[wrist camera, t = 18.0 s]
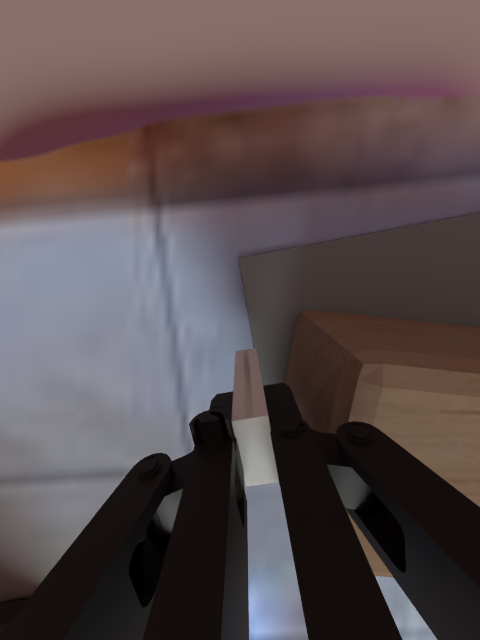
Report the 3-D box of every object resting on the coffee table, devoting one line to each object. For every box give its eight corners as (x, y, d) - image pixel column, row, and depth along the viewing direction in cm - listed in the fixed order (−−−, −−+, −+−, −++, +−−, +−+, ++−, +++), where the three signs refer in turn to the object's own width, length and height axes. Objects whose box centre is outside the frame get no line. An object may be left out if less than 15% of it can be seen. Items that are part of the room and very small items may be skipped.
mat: (268, 428, 20) (268, 430, 20) (238, 258, 17) (238, 258, 17) (571, 383, 19) (576, 384, 19) (597, 190, 16) (604, 189, 16)
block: (359, 355, 8) (957, 418, 8) (294, 305, 17) (563, 334, 18) (307, 583, 10) (777, 627, 10) (275, 425, 20) (515, 450, 20)
